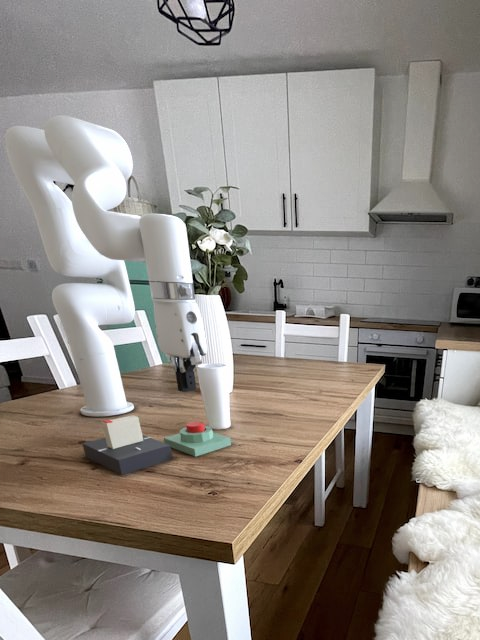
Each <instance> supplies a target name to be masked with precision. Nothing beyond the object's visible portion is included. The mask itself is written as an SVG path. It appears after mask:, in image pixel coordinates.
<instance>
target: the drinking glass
mask: <svg viewBox="0 0 480 640" xmlns="http://www.w3.org/2000/svg"><path fill="white" fill-rule="evenodd" d="M196 371H197V372H196V373H197V380H198V385H199V390H200V395H201V399H202V403H203V407H204V411H205V417H206V421H207V426H209V427H211V428H212V430H219V431H220V430H225V429H228V428H230V427H231V423H232V422H231V410H230V407H231V406H230V379H229V371H228V366H227V364H224V363H201V364H197V365H196Z"/></svg>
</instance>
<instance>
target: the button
mask: <svg viewBox="0 0 480 640" xmlns="http://www.w3.org/2000/svg"><path fill="white" fill-rule="evenodd" d="M204 426H205V423H204V422H202V421H191V422H188V423H186V425H185V427H187V432H188V433H200V432H203V431H205V427H204Z"/></svg>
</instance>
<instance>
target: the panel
mask: <svg viewBox="0 0 480 640" xmlns="http://www.w3.org/2000/svg"><path fill="white" fill-rule="evenodd" d="M142 436H143V441H141V442H137V443H134V444H130V445H126V446H122V447H119V448H115V449H112V448H109V447H108V446H107V442H106V438H105V437H102V438H98V439H94V440H89V441H86V442H82V443H81V445H82V448H83V451H84V454H85V457H86V458H87V459H89V460H91V461H93V462H95V463H97V464H99V465H101V466H103V467H105V468H107V469H109V470H111V471H113V472H115V473H117V474H119V475H121V476H123V475H126V474H130V473H133V472H136V471H140V470H142V469H145V468H149V467H151V466H154V465H158V464H161V463H164V462H168V461H170V460H171V461H172V460H173V454H172V447H170V445H168V444H166V443H165V442H163V441H160V440H158V439H155V438H153V437H152V436H147V435H144V434H142Z"/></svg>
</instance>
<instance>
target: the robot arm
mask: <svg viewBox="0 0 480 640" xmlns="http://www.w3.org/2000/svg"><path fill="white" fill-rule="evenodd" d="M4 145H5V146H4V147H5V151H6V157H7V159H8V162H9V165H10V167H11V170H12V173H13V175H14V177H15V178H16V180H17V183H18V184H19V186H20V187H21V189H22V191H23V193H24V194H25V196H26V198H27V200H28V202H29V204H30V207H31V209H32V212H33V215H34V218H35V222H36V225H37V229H38V232H39V235H40V238H41V241H42V246H43V249H44V251H45V254H46V258H47V260H48V262H49V265H50V267H51V268H52V269H53V271H54V272H55V273H57V274H59V275H62V276H65V277H72V278H73V277H74V278H89V279H101V280H102V281H103V283H90V282H89V283H88V282H86V283H85V282H66V283H61V284H58V285H57V286H55V287H54V288H53V289H52V292H51V300H52V304H53V306H54V309H55V311H56V313H57V315H58V317H59V320H60V323H61V324H62V327H63V330H64V332H65V335H66V338H67V341H68V344H69V348H70V353H71V355H72V358H73V363H74V366H75V370H76V374H77V376H78V377H77V378H78V380H79V384H80V388H81V391H82V395H83V398H84V402H85V405H84V406H82V407H81V408H80V409H79V410H80V414H81V415H83V416H87V417H99V418H100V417H111V416H118V415H122V414H123V415H124V414H126V413H129V412H131V411H133V410H134V409H135V405H134V404H133V403H132V402H130V401H127V397H126V394H125V389H124V384H123V381H122V376H121V372H120V367H119V362H118V359H117V355H116V350H115V346H114V343H113V342H112V340H111V338H110V337H109V335H107V334H106V333H105V332H104V331H103V330H102V329H101V328H100V326H106V325H109V326H110V325H125V324H130V323H132V322H133V321H134V319H135V316H136V306H135V301H134V296H133V292H132V288H131V284H130V279H129V275H128V270H127V266H126V263H125V262H139V263H145V266H146V272H147V278H148V284H149V289H150V290H149V291H150V295H151V301H152V302H153V317H154V324H155V325H154V326H155V335H156V340H157V344H158V348H159V350H160V351H161V352H162V353H164V357H165V358H166V359H167V360H169V361H170V362H171V365H172V369H173V371H174V373H175V378H176V385H177V390H178V391H179V392H182V393H189V392H193V391H196V390H197V382H196V376H195V371H196V367H197V366H198V365H201V364H203V361H202V357H205V356H207V354H208V346H207V339H206V333H205V328H204V322H203V319H202V315H201V311H200V307H199V305H198V303H197V302H196V294H195V287H194V280H193V272H192V271H193V270H192V264H191V257H190V256H191V255H190V247H189V240H188V239H189V238H188V232H187V231H188V230H187V227H186V224H185V222H184V221H183V220H182V219H181V218H180V217H178V216H174V215H171V214H164V213H144V214H142V215H141V216H140V215H136V214H130V213H126V212H125V213H124V212H118V211H112V210H113V209H114V208H117V207H119V205H120V204H122V203H123V201H124V200H125V199H126V196H127V190H128V189H127V188H128V187H127V182H126V181H128V180H129V179H130V178H131V175H132V174H133V168H134V162H133V161H134V160H133V156H132V153H131V149H130V148H129V146H128V143H127V142H126V140H125V139H124V138H123V137H122V135H120V134H119V133H118V132H117V131H115V130H113V129H111V128H109V127H105V126H102V125H99V124H96V123H93V122H90V121H86V120H83V119H80V118H77V117H73V116H69V115H63V114H62V115H55V116H51V117H49V119H48V120H46V123H45V124H44V129H41V128H38V127H33V126H27V125H13V126H11V127H9V128H8V129H7V130H6V132H5V135H4ZM54 182H58V183H62V184H67V185H72V186H73V187H72V192H71V199H70V198H69V197H68V195H67V194H66V193H65V192H64V191H63V190H62V189H61V188H60V187H59V186H58V185H57V184H56V183H54Z"/></svg>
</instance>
